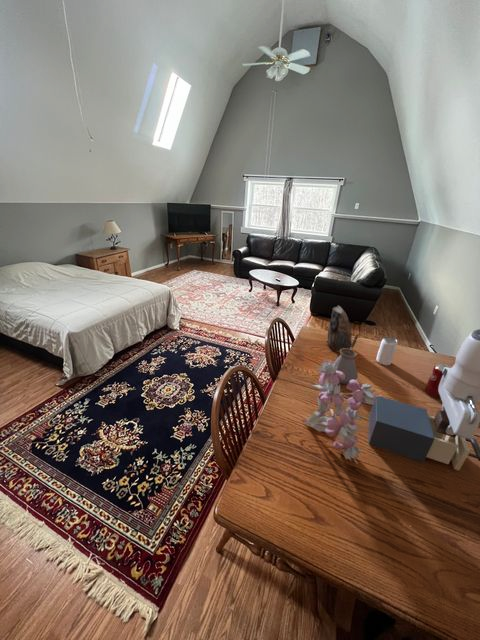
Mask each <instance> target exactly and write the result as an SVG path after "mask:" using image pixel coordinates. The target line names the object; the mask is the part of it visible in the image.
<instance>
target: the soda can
mask: <svg viewBox="0 0 480 640" xmlns="http://www.w3.org/2000/svg"><path fill="white" fill-rule="evenodd" d="M444 367H448V368H452V367H453V366H450V365H447V364H444V363H436V364H435V365H434V366H433V369H432V371H431V373H430V376H429V378H428V380H427V383H426V385H425V387H424V391H425V393H426V394H427V395H428V396H430V397H431V398H434V399H436V400H441V397H440V394H439V392H438V388H439V384H440V381H441V378H442V376H443V369H444Z"/></svg>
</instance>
